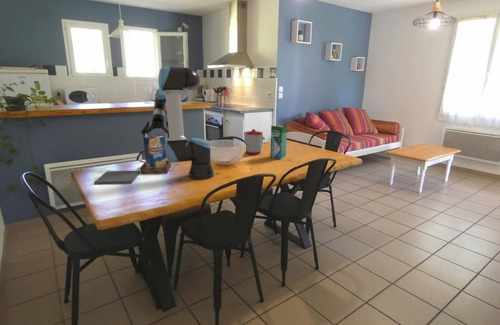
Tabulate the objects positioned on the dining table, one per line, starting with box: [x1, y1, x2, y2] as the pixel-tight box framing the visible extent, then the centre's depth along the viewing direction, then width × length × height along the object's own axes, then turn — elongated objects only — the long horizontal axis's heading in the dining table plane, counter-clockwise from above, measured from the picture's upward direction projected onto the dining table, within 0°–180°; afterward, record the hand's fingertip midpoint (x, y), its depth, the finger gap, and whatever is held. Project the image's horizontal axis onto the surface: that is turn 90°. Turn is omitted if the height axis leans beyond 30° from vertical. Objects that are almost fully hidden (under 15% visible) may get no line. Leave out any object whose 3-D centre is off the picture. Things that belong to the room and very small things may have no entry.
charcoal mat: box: [93, 170, 141, 185], centre depth 177 cm, size 20×20×2 cm
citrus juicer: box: [243, 128, 266, 155], centre depth 240 cm, size 16×17×20 cm
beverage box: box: [143, 134, 167, 167], centre depth 192 cm, size 7×11×22 cm, turn 138°
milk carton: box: [269, 125, 288, 160], centre depth 227 cm, size 9×9×25 cm
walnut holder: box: [139, 160, 172, 175], centre depth 194 cm, size 16×16×4 cm
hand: (155, 142), depth 196 cm, fingers open, 13 cm apart
